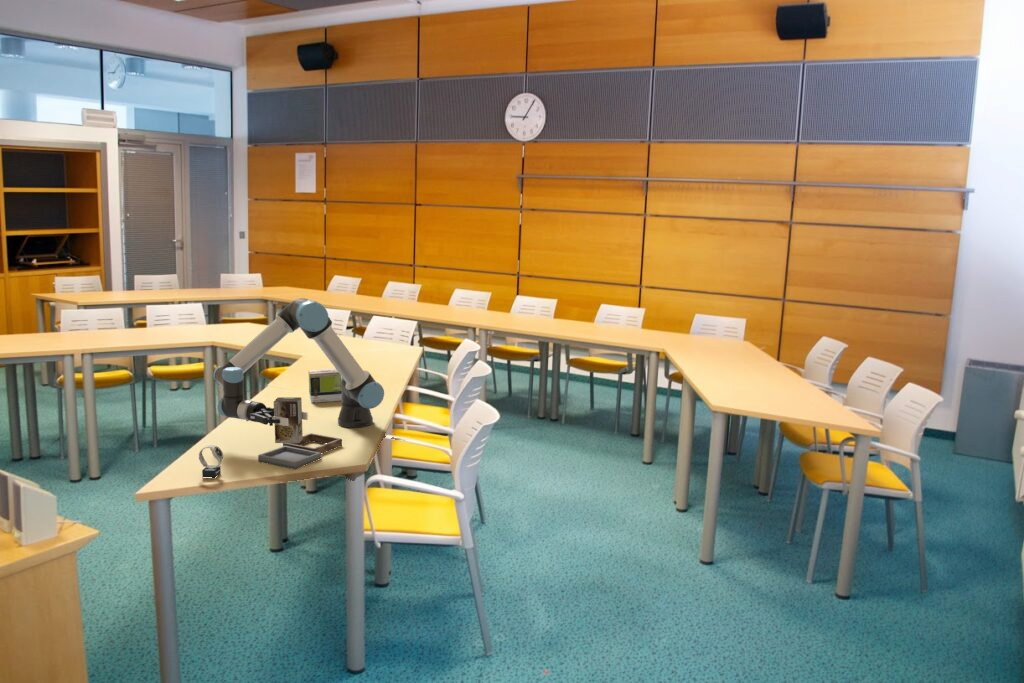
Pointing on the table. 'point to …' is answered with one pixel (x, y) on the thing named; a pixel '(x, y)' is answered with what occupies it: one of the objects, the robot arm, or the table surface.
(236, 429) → the table surface
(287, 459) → the tray
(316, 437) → the collar
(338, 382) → the tea box
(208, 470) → the watch
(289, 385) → the table surface
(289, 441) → the coffee box
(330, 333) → the robot arm
